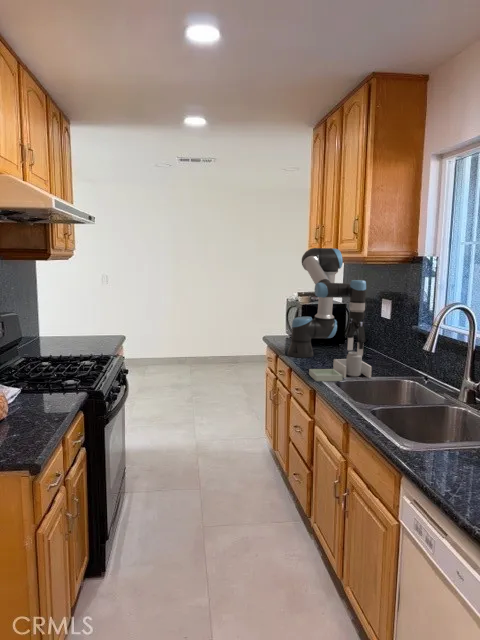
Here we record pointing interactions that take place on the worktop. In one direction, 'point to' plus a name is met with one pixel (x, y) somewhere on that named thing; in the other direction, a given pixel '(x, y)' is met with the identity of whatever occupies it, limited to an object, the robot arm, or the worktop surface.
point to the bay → (341, 367)
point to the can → (353, 364)
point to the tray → (325, 375)
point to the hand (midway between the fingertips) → (354, 352)
